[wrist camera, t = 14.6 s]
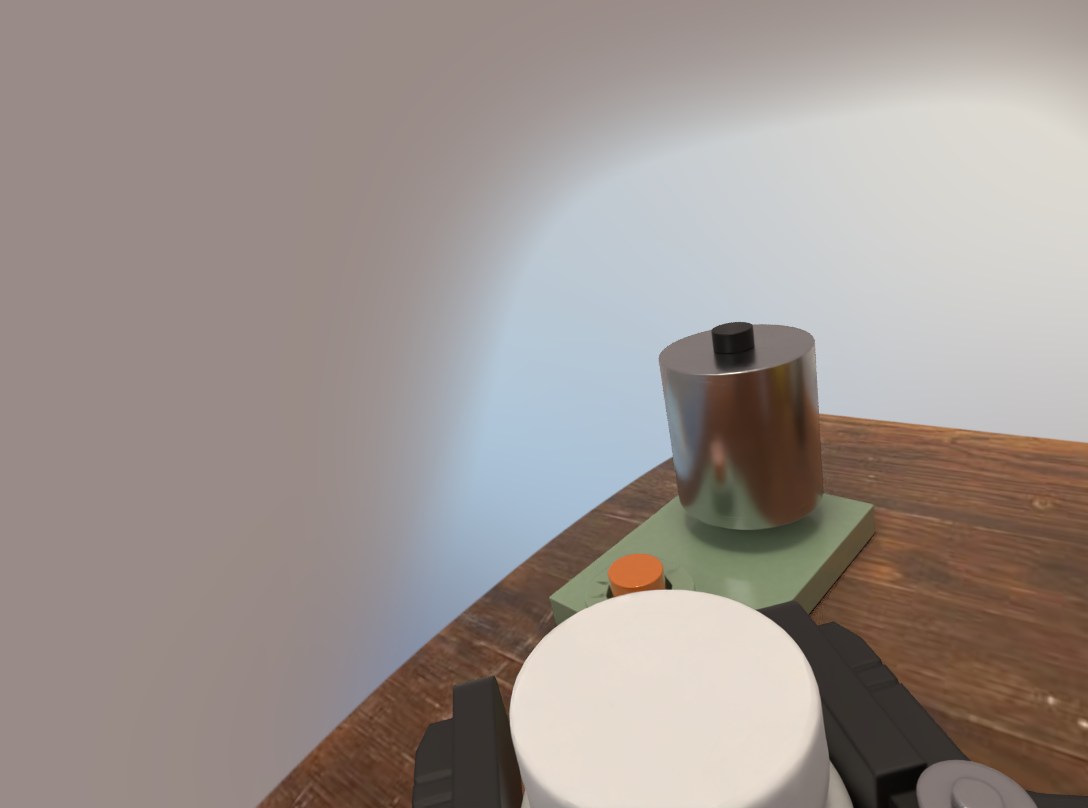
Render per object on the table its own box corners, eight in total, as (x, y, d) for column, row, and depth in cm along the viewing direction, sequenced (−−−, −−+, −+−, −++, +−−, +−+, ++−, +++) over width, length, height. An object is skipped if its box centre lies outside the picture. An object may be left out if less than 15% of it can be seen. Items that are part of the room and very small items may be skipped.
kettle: (780, 546, 37) (763, 359, 33) (652, 507, 43) (625, 347, 39) (848, 475, 42) (840, 307, 38) (725, 450, 49) (708, 305, 45)
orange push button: (644, 621, 34) (639, 593, 33) (601, 601, 36) (596, 575, 35) (678, 589, 36) (674, 563, 35) (635, 572, 38) (630, 547, 37)
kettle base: (712, 735, 31) (702, 669, 30) (541, 637, 40) (527, 583, 38) (875, 533, 42) (873, 479, 41) (715, 492, 51) (709, 446, 50)
